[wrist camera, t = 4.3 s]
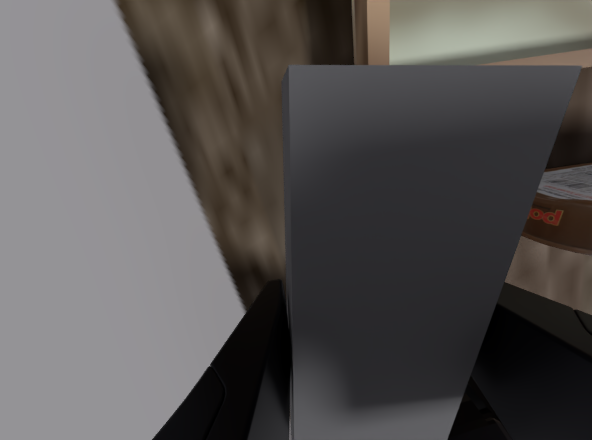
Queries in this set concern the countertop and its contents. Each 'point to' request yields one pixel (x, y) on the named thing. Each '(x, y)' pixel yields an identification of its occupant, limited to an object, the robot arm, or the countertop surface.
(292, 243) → the bar
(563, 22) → the divided wooden tray
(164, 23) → the countertop surface
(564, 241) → the tin
